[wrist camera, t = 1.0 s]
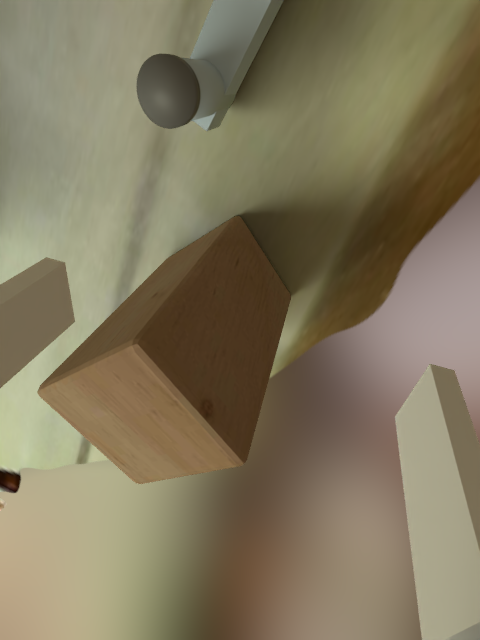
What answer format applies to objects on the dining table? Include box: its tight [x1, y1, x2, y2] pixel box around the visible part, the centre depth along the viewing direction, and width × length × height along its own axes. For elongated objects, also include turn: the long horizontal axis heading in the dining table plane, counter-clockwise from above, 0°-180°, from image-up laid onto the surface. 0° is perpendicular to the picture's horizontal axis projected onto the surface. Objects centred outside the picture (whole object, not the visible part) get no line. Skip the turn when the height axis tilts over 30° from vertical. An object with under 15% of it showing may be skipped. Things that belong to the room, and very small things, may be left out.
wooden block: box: [38, 216, 291, 484], centre depth 29 cm, size 10×10×20 cm
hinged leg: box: [137, 0, 284, 131], centre depth 21 cm, size 3×10×9 cm, turn 148°
